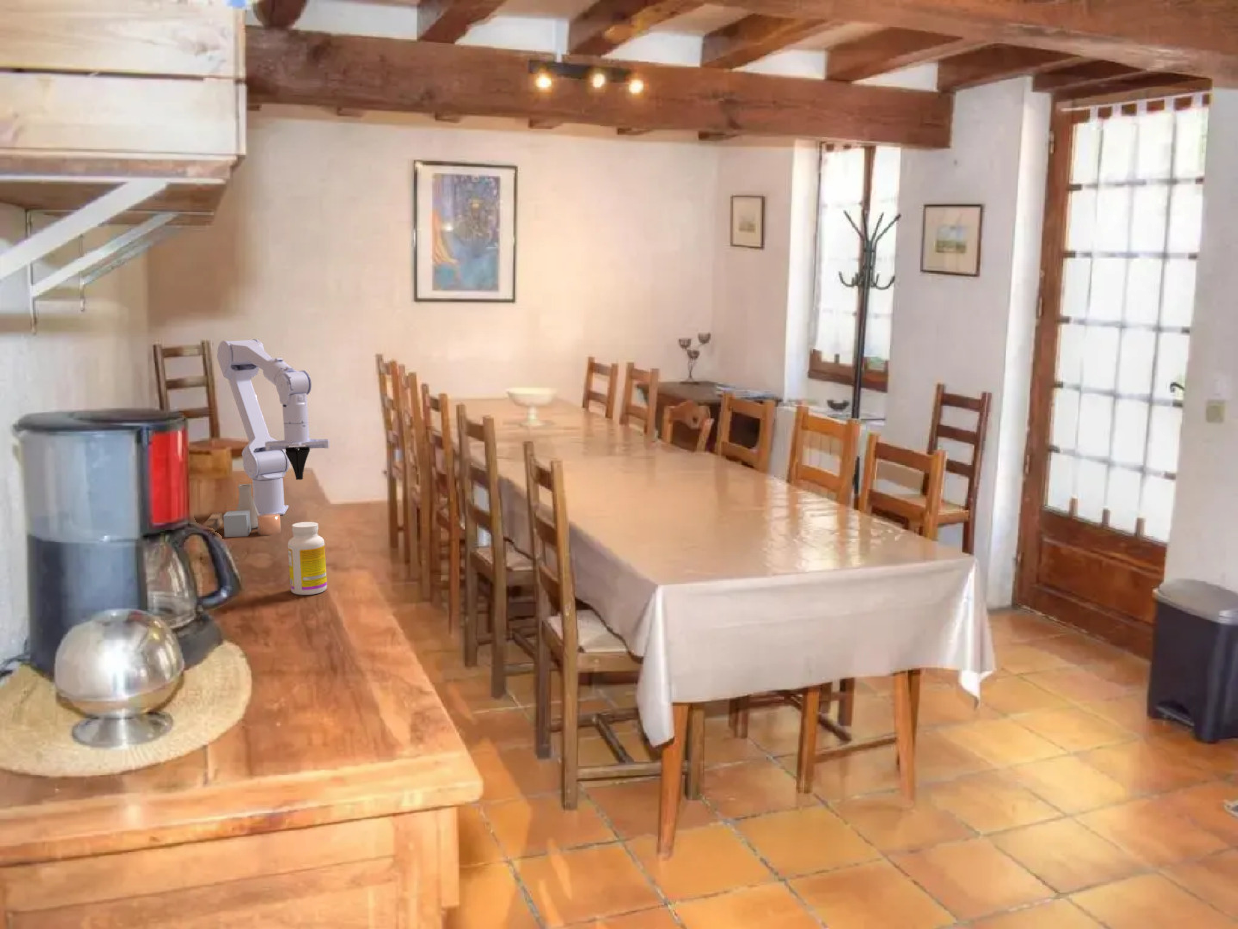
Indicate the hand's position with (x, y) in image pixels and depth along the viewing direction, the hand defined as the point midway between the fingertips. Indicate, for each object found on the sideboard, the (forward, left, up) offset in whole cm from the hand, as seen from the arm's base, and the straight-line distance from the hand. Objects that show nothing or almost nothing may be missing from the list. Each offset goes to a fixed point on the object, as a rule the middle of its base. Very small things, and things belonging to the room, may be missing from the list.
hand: (299, 479), depth 269 cm
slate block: (+10, -13, -11) cm, 20 cm away
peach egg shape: (+10, -6, -11) cm, 16 cm away
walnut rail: (+5, -20, -10) cm, 23 cm away
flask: (+3, -12, -11) cm, 16 cm away
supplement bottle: (+62, +8, -11) cm, 63 cm away
